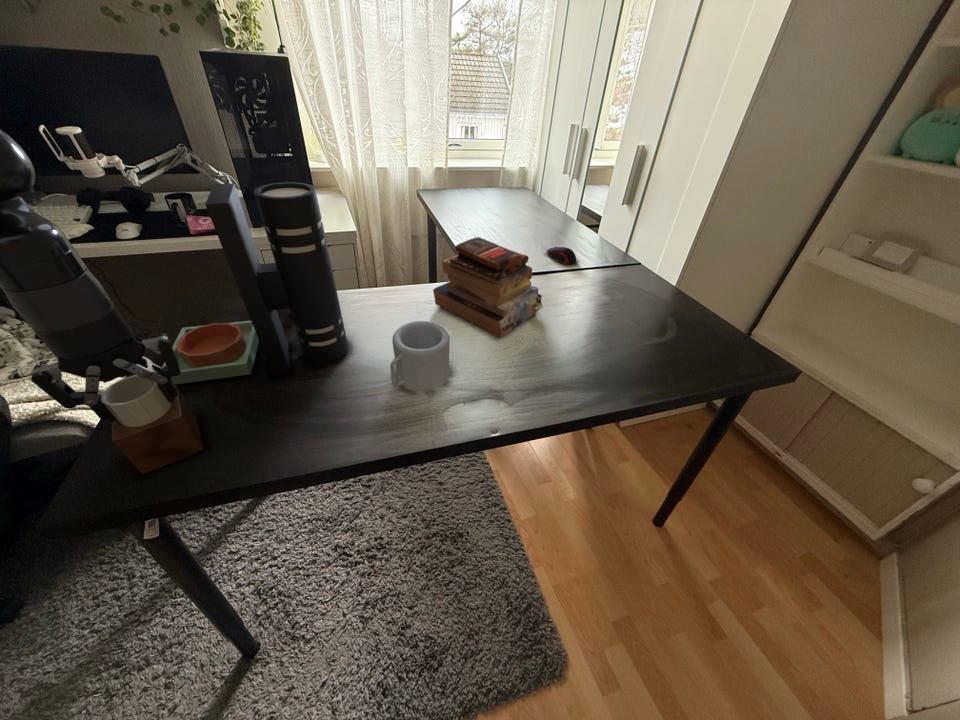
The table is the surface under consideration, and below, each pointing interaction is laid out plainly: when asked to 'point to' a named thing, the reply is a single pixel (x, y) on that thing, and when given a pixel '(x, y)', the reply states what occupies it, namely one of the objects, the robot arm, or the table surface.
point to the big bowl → (211, 345)
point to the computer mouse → (562, 255)
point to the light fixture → (283, 270)
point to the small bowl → (135, 401)
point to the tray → (223, 370)
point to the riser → (160, 438)
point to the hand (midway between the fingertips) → (143, 407)
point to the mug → (420, 356)
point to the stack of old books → (488, 287)
